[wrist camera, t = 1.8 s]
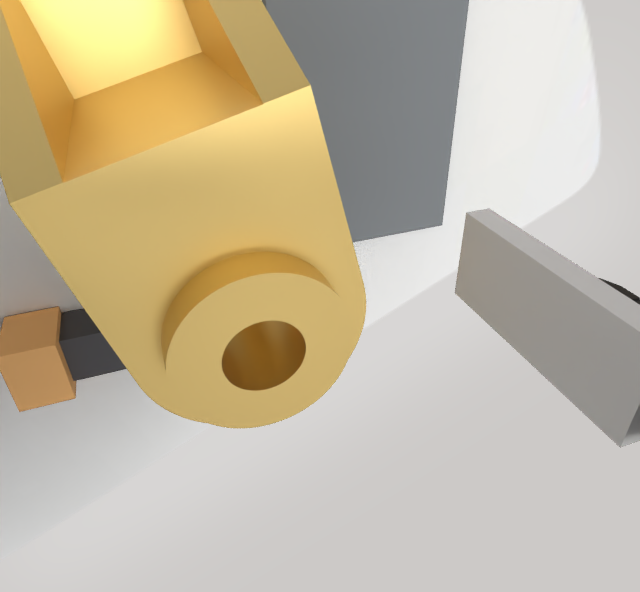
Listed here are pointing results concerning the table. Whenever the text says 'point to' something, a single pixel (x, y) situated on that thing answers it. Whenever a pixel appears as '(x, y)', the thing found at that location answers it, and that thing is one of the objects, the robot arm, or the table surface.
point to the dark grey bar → (52, 355)
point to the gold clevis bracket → (183, 197)
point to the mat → (382, 101)
